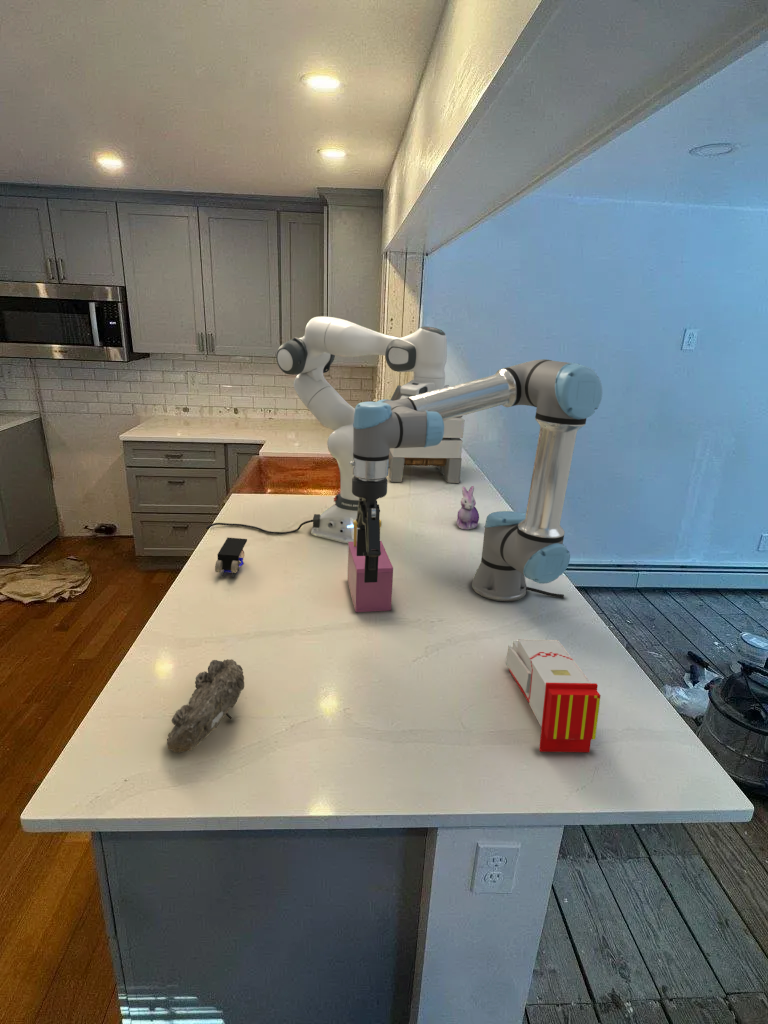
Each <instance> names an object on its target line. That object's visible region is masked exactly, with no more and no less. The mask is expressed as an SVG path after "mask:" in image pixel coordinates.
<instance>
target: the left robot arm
mask: <svg viewBox="0 0 768 1024" xmlns="http://www.w3.org/2000/svg"><path fill="white" fill-rule="evenodd" d="M365 356H384V357H385V358H384V359H385V362H386V364H387V366H388V368H390V369H391V370H392V371H393V372H398V373H410V372H411V373H412V372H413V379H411V380H410V381H408V382H406V383H404V384H402V385H400V386H401V390H400V392H401V393H402V394H403V395H402V396H401V398H400V399H403V398H408V397H411V396H415V395H419V394H423V393H427V392H431V391H434V390H438V389H442V388H446V387H450V386H451V385H449V384H446V385H445V383H446V372H445V367H446V364H447V357H448V339H447V334H446V333H445V332H444V331H443V330H442V329H440V328H437V327H432V326H425V325H424V326H420V327H419V328H418V329H416V330H415V331H414V332H412V333H410V334H407V335H405V336H402V337H400V336H395V335H391V334H386V333H382V332H379V331H376V330H373V329H370V328H368V327H365V326H363V325H360V324H358V323H355V322H352V321H349V320H346V319H344V318H339V317H334V316H323V315H322V316H314V317H312V318H311V319H310V320H308V322H307V324H306V326H305V329H304V335H303V336H301V337H297V336H295V337H293V338H292V339H291V338H290V339H289V340H287V341H285V342H283V343H282V344H280V346H279V347H278V348H277V350H276V355H275V360H276V363H277V366H278V368H279V370H281V372H283V373H284V374H286V375H289V376H290V375H291V376H295V378H294V380H293V389H294V391H295V393H296V395H297V396H298V398H299V399H300V401H301V403H302V404H303V405H304V406H305V407H306V408H307V410H308V411H309V412H310V413H311V415H313V416H314V417H315V419H316V420H317V421H318V422H319V423H320V424H321V425H322V426H323V427H325V428H327V429H330V430H332V432H331V433H330V434H329V436H328V438H327V441H326V442H327V443H326V445H327V449H328V452H329V454H330V455H331V456H332V458H334V459H335V461H336V464H337V466H338V470H339V476H340V480H339V481H340V488H339V489H340V490H339V491H338V492H337V494H336V495H335V496H334V497H333V502H334V504H333V505H331V506H329V507H328V508H326V509H325V510H323V512H321V514H320V513H315V514H313V518H312V519H310V520H306V521H304V522H303V521H302V523H300V524H299V525H298V527H297V528H296V529H293V530H291V531H271V530H266V529H263V528H261V527H257V526H255V525H249V524H243V523H227V522H213V523H211V524H209V525H208V526H206V528H205V530H208V529H210V528H211V527H214V526H228V527H229V526H231V527H245V528H251V529H254V530H258V531H260V532H262V533H266V534H270V535H271V534H273V535H286V534H292V533H296V532H298V531H300V530H301V528H302V527H303V526H304V525H306V524H309V523H312V528H311V530H310V533H311V536H315V537H319V538H323V539H326V540H330V541H336V542H339V543H343V544H348V542H354V527H353V521H354V520H356V519H357V512H358V503H359V497H356V496H355V495H353V493H352V478H353V477H354V475H353V466H351V465H350V462H351V461H354V460H353V423H354V413H355V407H353V406H352V405H351V404H350V403H348V402H347V401H346V400H345V399H344V398H343V396H341V395H340V393H339V392H338V391H337V390H336V389H335V388H334V387H333V386H332V385H331V384H330V383H329V382H328V380H327V379H326V377H325V376H324V374H325V373H328V372H329V371H330V369H331V365H332V364H333V362H334V361H335V359H336V358H335V357H343V358H355V357H365ZM357 529H359V528H357ZM356 541H357V540H356Z"/></svg>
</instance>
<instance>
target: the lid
mask: <svg viewBox="0 0 768 1024" xmlns="http://www.w3.org/2000/svg"><path fill="white" fill-rule="evenodd" d="M379 521H380V528H382V519H379ZM357 524H358V523H357V521H356V520H354V521H353V527H354V542H348V543H347V547H348V546H349V549H350V553H351V556H352V559H353V563H354V566H355V569H356V573H365V556H357V541H356V540H357V528H358V527H357ZM372 550H376V549H372ZM380 552H381V555H380V556H378V572H393V573H394V566H393V564H392V562H391V560H390V557H389V555H388V553H387V551H386V548H385V546H384V544H383V542H382V540H380Z"/></svg>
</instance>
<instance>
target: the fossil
mask: <svg viewBox="0 0 768 1024" xmlns="http://www.w3.org/2000/svg"><path fill="white" fill-rule="evenodd" d="M243 670H244V669H243V667H242V665H240V664H237V662H236V661H235V660H234V659H232V658H231V659H227V658H226V659H224V660H223V661H222V660H217V659H212V660H211V661H210V663H209V665H208V666H207V671H201V672H199V673H198V674H197V675H196V676H195V680H194V684H195V685H194V687H195V689H194V690H193V693H192V694H191V697H190V698H189V700H188V704H184V705H182V706H181V707H180V709H177V710H176V711H175V713H174V715H173V716H172V718H171V723H172V724H173V727H172V730H171V731H170V732H168V734H167V738H166V741H167V742H166V745H167V749H168V750H169V751H173V752H174V753H176V754H178V753H182V752H188V751H189V752H192V751H193V750H195V748H196V747H197V746H199V744H200V743H201V742H203V741H204V740H205V739H206V738H207V737H208V736H209V735H210V734H211V733H212V732H214V730H215V729H217V727H218V726H219V724H220V722H221V721H222V720H223V719H224V718H225V716H226V717H227V719H229V720H233V717H232V715H230V714H229V710H230V709H231V708H234V706H235V704H236V703H237V702H238V699H239V697H240V695H241V693H242V691H243V690H245V689H244V688H245V675H244V671H243Z"/></svg>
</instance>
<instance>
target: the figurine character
mask: <svg viewBox="0 0 768 1024" xmlns="http://www.w3.org/2000/svg"><path fill="white" fill-rule="evenodd" d="M247 542H248V538H240V537H226V539H225V541H224V543H223V544H222V546H221V547H220V549H219V551H218V552H217V560H216V562H215V564H214V572H215V573H221V577H222V578H224V577H225V576H226V574H227V573H230V574H231V573H232V574H231V578H234V577H235V575H236V573H237V572H239V571H240V567H242V566H243V565H244V564H245V562H244V558H245V551H244V547H245V546H246V544H247Z"/></svg>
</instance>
